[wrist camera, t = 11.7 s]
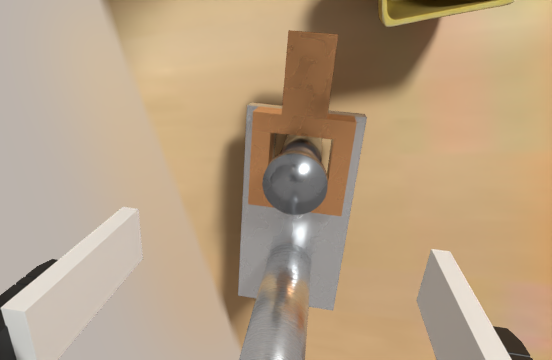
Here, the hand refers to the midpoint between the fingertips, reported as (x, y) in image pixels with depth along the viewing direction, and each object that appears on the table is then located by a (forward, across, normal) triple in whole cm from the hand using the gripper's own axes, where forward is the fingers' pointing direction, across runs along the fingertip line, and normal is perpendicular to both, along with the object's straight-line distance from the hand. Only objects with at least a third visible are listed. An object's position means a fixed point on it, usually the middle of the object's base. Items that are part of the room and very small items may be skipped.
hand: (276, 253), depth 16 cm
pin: (+24, 0, -1) cm, 24 cm away
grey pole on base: (+23, 0, -4) cm, 24 cm away
